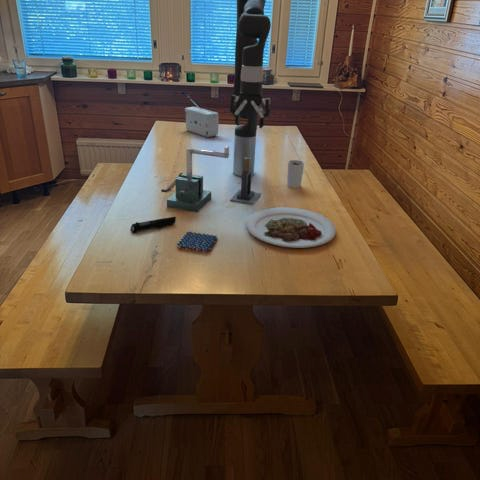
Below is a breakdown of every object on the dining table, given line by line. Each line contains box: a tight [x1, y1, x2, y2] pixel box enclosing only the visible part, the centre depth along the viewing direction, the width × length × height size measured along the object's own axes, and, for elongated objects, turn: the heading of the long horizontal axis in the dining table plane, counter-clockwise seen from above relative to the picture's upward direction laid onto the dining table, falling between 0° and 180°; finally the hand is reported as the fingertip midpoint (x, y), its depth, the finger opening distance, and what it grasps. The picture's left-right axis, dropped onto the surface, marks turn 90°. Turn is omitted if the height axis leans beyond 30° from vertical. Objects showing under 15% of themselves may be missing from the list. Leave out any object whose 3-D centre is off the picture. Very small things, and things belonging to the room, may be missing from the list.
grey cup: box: [286, 159, 305, 189], centre depth 188 cm, size 7×7×10 cm
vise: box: [166, 146, 230, 213], centre depth 162 cm, size 16×21×23 cm
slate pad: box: [229, 189, 261, 205], centre depth 176 cm, size 11×9×1 cm
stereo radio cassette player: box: [184, 95, 220, 138], centre depth 254 cm, size 21×8×20 cm, turn 45°
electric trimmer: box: [130, 216, 177, 234], centre depth 149 cm, size 4×15×3 cm, turn 119°
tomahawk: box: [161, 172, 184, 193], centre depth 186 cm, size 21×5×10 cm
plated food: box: [245, 206, 337, 249], centre depth 152 cm, size 30×30×3 cm
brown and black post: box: [237, 157, 255, 201], centre depth 172 cm, size 7×5×15 cm
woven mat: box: [176, 231, 219, 254], centre depth 141 cm, size 10×11×2 cm
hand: (249, 126), depth 163 cm, fingers open, 8 cm apart
